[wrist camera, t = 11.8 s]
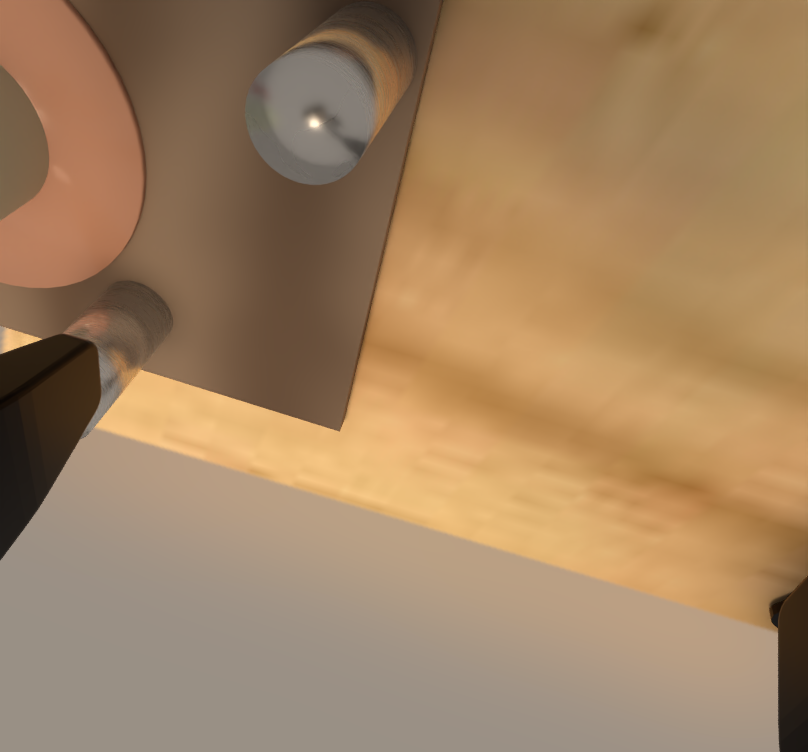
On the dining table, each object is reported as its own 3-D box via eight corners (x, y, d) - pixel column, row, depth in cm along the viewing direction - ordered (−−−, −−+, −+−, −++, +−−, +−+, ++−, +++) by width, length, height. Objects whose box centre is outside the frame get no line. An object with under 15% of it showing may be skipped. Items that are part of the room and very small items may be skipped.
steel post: (437, 58, 17) (393, 129, 14) (150, 353, 25) (69, 452, 21) (364, -23, 17) (295, 27, 13) (92, 307, 24) (-3, 401, 21)
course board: (453, -46, 17) (447, -39, 16) (344, 420, 26) (337, 436, 25) (-282, -266, 17) (-319, -269, 16) (-126, 274, 26) (-146, 286, 26)
